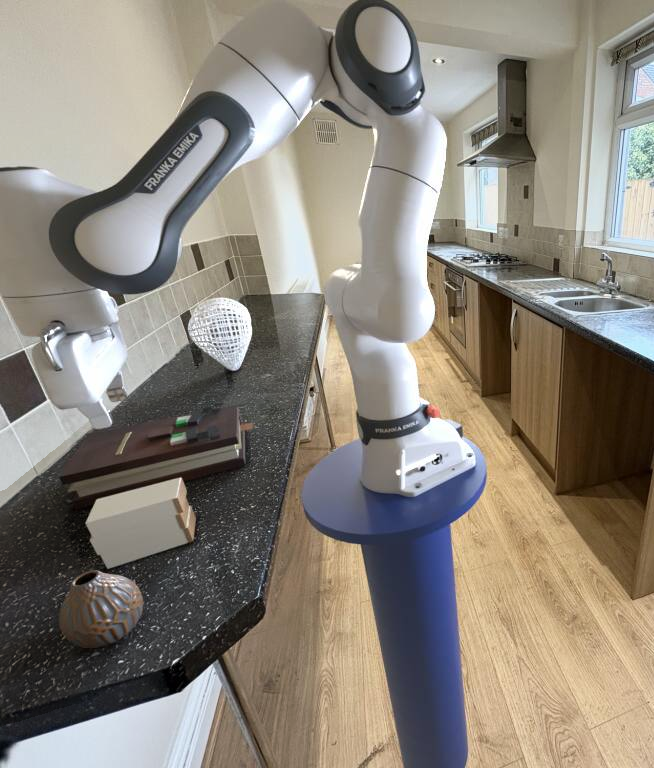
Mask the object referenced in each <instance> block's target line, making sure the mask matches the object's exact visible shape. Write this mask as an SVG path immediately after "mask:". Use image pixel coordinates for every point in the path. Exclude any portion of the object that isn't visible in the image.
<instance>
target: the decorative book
mask: <svg viewBox="0 0 654 768" xmlns="http://www.w3.org/2000/svg"><path fill="white" fill-rule="evenodd" d="M223 404H224V402H217V403H216V402H215V403H214V404H213V406H209V407H203V409H202V410H200V411H194V412H192V413H189V414H183V415H177V416H172V417H168V418H167V417H166V418H163V419H158V420H157V419H156V420H151V421H147V422H143V423H137V424H132V425H127V426H122V427H116V428H111V429H107V430H101V431H96V432H92V433H87V435H86V437H85V438H84V439H83V441H81V443H80V445H79V447H78V448H77V450H75V452H74V453H73V455H72V456H71V458H70V460H69V461H68V462H67V464H66V466H65V467H64V469H63V470H62V471H61V473H60V474H59V476H58V479H59V481H60V483H61V485H62V486H67V485H70V486H69V488H68V490H67V491H66V492H67V493H70V492H75V491H76V493H75V495H74V496H73V498H72V500H71V504H72V505H73V507H74V509H75V510H79V509H84V508H87V507H91V506H94V504H95V502H96V500H97V499H100V498H104V497H108V496H112V495H115V494H119V493H123V492H127V491H131V490H134V489H138V488H142V487H146V486H150V485H154V484H157V483H161V482H165V481H169V480H173V479H177V478H181V477H182V480H183V482H186V481H191V480H195V479H198V478H202V477H205V476H209V475H213V474H217V473H221V472H224V471H228V470H232V469H237V468H240V467H244V466H246V431H248V430H253V428H254V422H249V423H243V421H242V420H243V419H242V417H241V413H240V410H239V406H238V404H234V405H228V406H224V407H219V406H223ZM214 407H218V408H214ZM213 408H214V409H213Z"/></svg>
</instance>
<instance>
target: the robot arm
mask: <svg viewBox="0 0 654 768" xmlns="http://www.w3.org/2000/svg"><path fill="white" fill-rule="evenodd" d="M334 32H335V33H333V31H329V30H325V29H323V28H322V27H320V26H319V25H317V23H315V21H314V20H313V19H312V18H311V17H310V16H309V15H308V14H307V13H306V12H304V10H302V9H301V8H300V7H298V6H296V5H295V4H293V3H291V2H290V1H287V0H268V1H265V2H264V3H263V4H261V5H259V6H257V7H256V8H255V9H253V10H252V11H251V12H249V13H248V14H246V15H245V16H244V17H242V18H241V19H240V20H239V21H238V22H237V23H235V24H234V26H232V27H231V28H230V29H229V30H228V31H227V32H226V33H225V34H224V35H223V36H222V37H221V38H220V40H219V41H218V42H217V43H216V44H215V45H214V47H212V49H211V50H210V52H209V53H208V54H207V56H206V57H205V59H204V60H203V62H202V63H201V65H200V66H199V68H198V70H197V71H196V73H195V75H194V77H193V78H192V80H191V83H190V85H189V88H188V90H187V92H186V94H185V96H184V98H183V101H182V103H181V105H180V108H179V110H178V112H177V114H176V115H175V117H174V119H173V121H172V123H171V124H170V125H169V126H168V127H167V128H166V130H165V131H164V132H163V133H162V134H161V135H160V137H158V139H157V140H156V141H154V143H153V144H152V145H151V146H150V147H149V149H148V150H147V151H146V152H145V153H144V154H143V155H142V157H141V158H140V159H138V161H137V162H136V163H135V164H134V165H133V166H132V168H130V170H128V172H127V173H126V174H125V175H124V176H123V177H122V178H121V179H120V180H119V181H117V182H116V183H114V184H113V185H112V186H110V187H108V188H105V189H103V190H100V191H96V190H93V189H90V188H87V187H84V186H82V185H79V184H78V183H77V184H76V183H74V182H71V181H69V180H67V179H65V178H62V177H59V176H58V175H55V174H53V172H50V171H49V170H47V169H44V168H40V167H36V166H25V165H23V166H21V165H19V166H3V167H0V296H1V299H2V300H3V302H4V304H5V306H6V307H7V309H8V312H9V313H10V315H11V317H12V319H13V321H14V324H15V325H16V327H17V329H18V332H19V333H20V335H22V336H24V337H28V338H29V337H30V338H31V337H32V338H33V337H34V338H39V339H40V341H39V342H37V343H36V344H34V346H33V347H32V349H31V357H32V362H33V364H34V365H33V366H34V367H35V370H36V372H37V374H38V377H39V380H40V381H41V384H42V386H43V389H44V390H45V393H46V395H47V397H48V399H49V401H50V403H51V404H52V405H53V406H54V407H55V408H57V409H58V410H60V411H61V410H62V411H65V410H70V409H76V408H77V410H78V411H79V412H80V413H81V414H82V415H83V416H85V417H86V418H87V419H88V421H89V423H90V424H91V426H92V428H93V429H94V430H103V429H107V428H110V427H111V426H112V425H113V422H114V420H115V419H114V417H113V415H112V414H113V413H112V412H111V410H110V409H108V410H107V408H106V406H105V404H104V403H103V402H104V399H103V397H102V396H103V395H104V393H106V396H107V397H108V400H109V402H111V403H119V402H124V401H125V400H126V399H127V397H128V392H127V389H126V387H125V382H124V376H123V371H122V369H121V368H122V367H123V366H124V365H125V362H127V360H128V355H129V354H128V349H127V344H126V341H125V338H124V335H123V331H122V328H121V326H120V323H119V320H120V318H119V316H118V313H119V306H118V303H117V302H116V300H115V298H113V297H112V296H110V295H109V293H111V294H116V295H141V294H145V293H146V294H147V293H149V292H152V291H155V290H157V289H158V288H160V287H162V286H163V285H164V284H165V283H167V282H168V281H169V280H170V279H171V277H172V276H173V274H174V272H175V269H176V267H177V265H178V262H179V261H180V259H181V255H182V252H183V240H182V234H183V232H184V230H185V228H186V226H187V224H188V223H189V221H191V219H192V218H193V216H194V215H195V214H196V212H198V211H199V209H201V207H202V205H203V204H204V203H205V202H206V201H207V199H208V198H209V197H210V196H211V195H212V193H214V191H215V190H216V188H217V187H218V186H219V185H220V184H221V182H222V181H223V180H225V178H226V177H227V176H229V174H231V173H232V172H233V171H235V170H236V169H237V168H239V167H241V166H242V165H244V164H246V163H248V162H251V161H254V160H257V159H258V160H259V159H261V158H263V157H265V156H266V155H268V154H269V153H270V152H272V151H273V150H275V149H276V148H277V147H278V146H280V145H281V144H282V143H283V142H285V140H286V139H287V138H288V137H289V136H290V135H291V134H292V133H293V132H294V131H295V130H296V129H297V128H298V126H299V125H300V124H301V122H302V121H303V120H304V118H305V117H306V116H307V114H309V112H310V111H311V110H312V109H313V108H314V107H315V106H316V105H317V104H319V103H320V105H321V106H322V107H324V108H325V109H327V110H329V111H330V112H332V113H334V114H336V115H337V116H339V117H340V118H342V120H344V121H346V122H347V123H349V124H351V125H352V126H354V127H357V128H359V129H361V130H372V132H373V136H374V137H373V138H374V144H373V152H372V156H371V160H370V164H369V168H368V172H367V176H366V181H365V185H364V189H363V194H362V197H361V202H360V207H359V210H358V215H357V223H358V227H359V230H360V236H361V262H360V263H359V264H358V263H355V264H350V265H345V266H342V267H340V268H337V269H336V270H334V271H333V272H331V274H329V276H328V277H327V279H326V280H325V283H324V286H323V298H324V301H325V305H326V306H327V308H328V309H329V312H330V313H331V317H332V319H333V323H334V326H335V329H336V332H337V336H338V338H339V341H340V344H341V347H342V349H343V352H344V355H345V357H346V360H347V364H348V366H349V370H350V374H351V378H352V384H353V385H352V386H353V390H354V395H355V402H356V407H357V408H356V411H355V416H356V420H355V422H356V427H357V428H356V429H357V433H358V437H359V438H360V440H361V441H362V467H361V473H360V481H361V483H362V484H363V486H365V487H366V488H367V489H369V490H371V491H374V492H378V493H390V494H400V495H403V496H406V497H415V496H417V495H419V494H421V493H423V492H425V491H427V490H429V489H431V488H433V487H435V486H437V485H439V484H441V483H443V482H445V481H447V480H449V479H451V478H453V477H455V476H457V475H459V474H461V473H463V472H465V471H467V470H469V469H471V468H472V467H474V466H475V464H476V459H475V455H474V452H473V451H472V449H471V448H470V447H469V446H468V445H467V444H466V443H465V442H464V441H463V440H461V438H462V437H464V434H463V433H464V432H463V425H462V424H459V423H458V422H456V421H453V420H451V419H448V418H446V419H442V418H439V416H440V415H441V414H440V413H441V411H440V410H439V408H437V406H435V405H431V403H430V402H429V401H427V400H426V399H424V398H422V396H420V389H419V387H420V386H419V379H418V378H419V377H418V369H417V364H416V361H415V359H414V357H413V356H412V354H411V352H410V350H409V349H408V346H407V344H411V343H414V342H418V340H420V339H422V338H423V337H425V335H426V334H427V333H428V332H429V330H430V329H431V328H432V326H433V323H434V320H435V317H436V315H435V314H436V307H435V301H434V298H433V296H432V293H431V292H430V288H429V285H428V276H427V255H428V254H427V252H428V243H429V236H430V232H431V228H432V223H433V220H434V215H435V212H436V207H437V202H438V198H439V195H440V189H441V187H442V181H443V175H444V169H445V162H446V152H447V151H446V149H447V135H446V131H445V128H444V126H443V125H442V123H441V121H440V120H439V119H438V118H437V117H436V116H435V115H434V114H433V113H432V112H430V111H428V110H427V109H425V108H424V107H422V106H421V104H422V102H423V101H424V98H425V96H426V86H425V85H426V84H425V81H424V77H423V71H422V64H421V63H422V62H421V53H420V48H419V44H418V39H417V37H416V34H415V31H414V29H413V27H412V25H411V23H410V21H409V20H408V18H407V16H405V14H404V13H403V12H402V11H401V9H399V8H398V7H397V6H396V5H394V4H393V3H391V2H389V1H387V0H355V1H354V2H352V3H351V4H350V5H348V6H347V8H346V9H345V10H344V11H343V12H342V14H341V15H340V17H339V19H338V21H337V23H336V27H335V31H334ZM359 438H358V439H359Z"/></svg>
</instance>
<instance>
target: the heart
mask: <svg viewBox="0 0 654 768" xmlns="http://www.w3.org/2000/svg"><path fill="white" fill-rule="evenodd" d="M223 309H224V310H223ZM206 315H207V316H206ZM234 315H235V316H234ZM201 316H202V318H201ZM208 320H209V322H208ZM203 321H204V322H203ZM226 321H227V322H226ZM231 321H232V322H231ZM235 321H236V322H235ZM213 323H214V324H213ZM232 327H233V329H234V330H233V329H232ZM236 327H237V328H236ZM220 328H221V329H220ZM228 329H229V330H228ZM211 330H212V332H211ZM215 330H217V331H215ZM187 332H188V334H189V338H190V339H191V341H192V342H193V343H194V344H195V345H196V346H197V347H198V348H199V349H201V350H202V351H203V352H205V354H207V355H209V356H210V357H211V358H213V359H214V360H216V361H217V362H218V363H219V364H220V365H222V366H223V367H224V368H225V369H227V370H229V371H232V372H234V371H238V370H239V369H240V368H241V366H242V364H243V361H244V359H245V356H246V354H247V351H248V349H249V346H250V342H251V340H252V335H253V327H252V318H251V314H250V312H249V310H248V308H247V307H246V306H244V305H243V304H242V303H241V302H239V301H237V300H234V299H232V298H227V297H214V298H209V299H205V300H203V301H202V302H200V303H199V304H197V305H196V307H195V308H194V310H193V311H192V315H191V317H190V319H189V321H188V324H187ZM234 333H235V335H234ZM229 334H230V335H229ZM212 335H213V336H214V337H213V336H212ZM217 335H218V337H217ZM214 344H216V345H214ZM219 344H220V345H219ZM232 347H233V348H232Z"/></svg>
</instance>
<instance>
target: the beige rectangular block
mask: <svg viewBox="0 0 654 768" xmlns="http://www.w3.org/2000/svg"><path fill="white" fill-rule="evenodd" d="M196 522H197V518H196V515H195V513H194V510H193V506H192V505H189V500H188V499H187V498H186V499H185V506H184V512H183V513H180V514H176V515H173V516H169V517H166V518H163V519H159V520H156V521H153V522H149V523H146V524H142V525H139V526H136V527H132V528H129V529H126V530H122V531H119V532H115V533H112V534H109V535H105V536H102V537H99V538H95V539H93V537H92V535H90V536H91V537H90V538H89V542H90V544H91V546H92V547H93V550H94V551H95V553H96V555H97V556H100V558H101V559H102V562H103V563H104V565H105V567H106V570H109V569H112V568H115V567H118V566H121V565H125V564H127V563H130V562H134V561H137V560H140V559H143V558H147V557H149V556H152V555H155V554H158V553H162V552H164V551H167V550H170V549H173V548H176V547H179V546H182V545H186V544H188V543H192V542H194V539H195V530H196Z"/></svg>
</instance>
